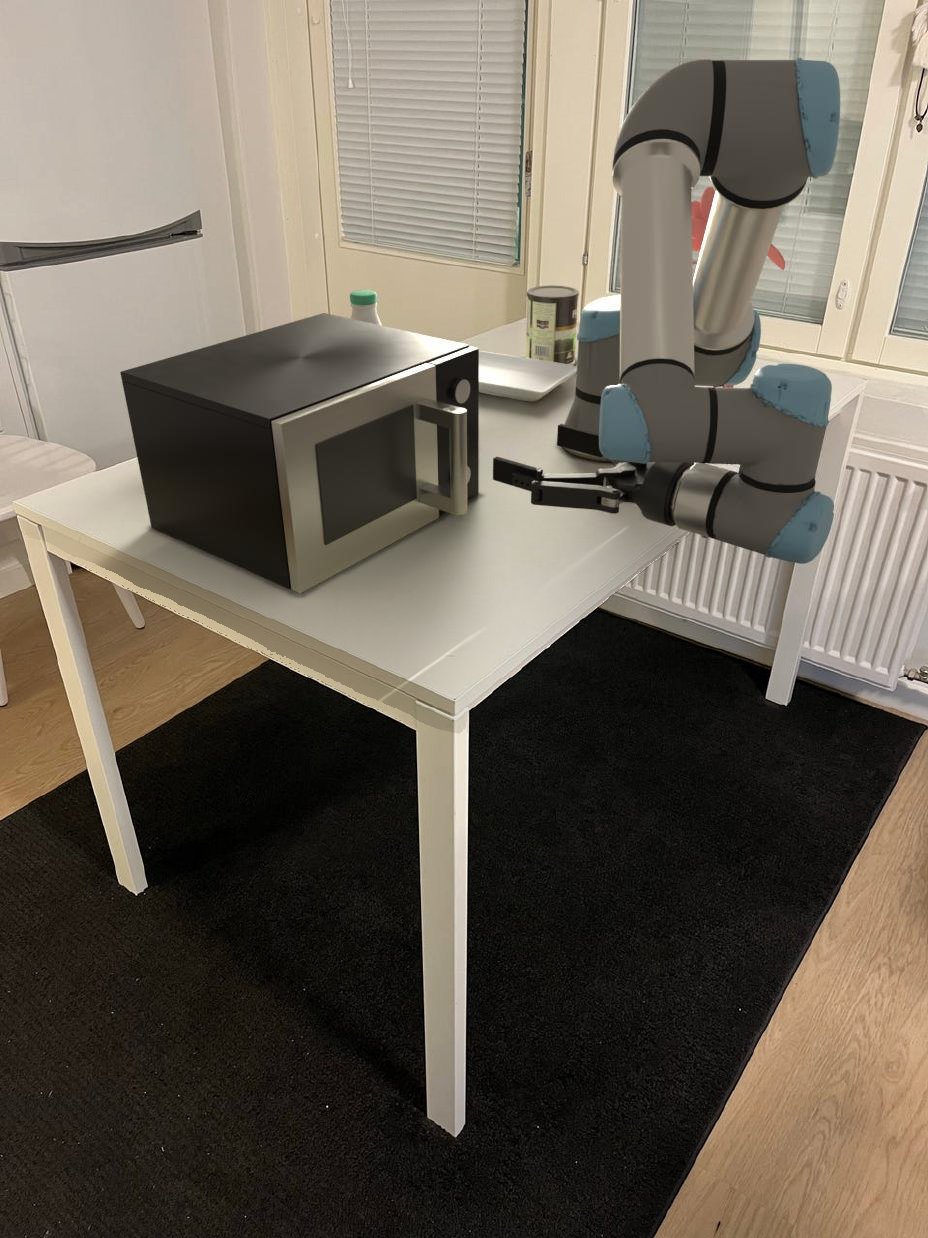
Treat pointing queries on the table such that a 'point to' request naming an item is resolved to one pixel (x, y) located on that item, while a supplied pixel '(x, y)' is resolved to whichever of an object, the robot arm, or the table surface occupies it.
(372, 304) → the milk bottle
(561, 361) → the coffee can
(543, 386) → the tray
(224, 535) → the microwave
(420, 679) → the table surface
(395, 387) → the microwave door
